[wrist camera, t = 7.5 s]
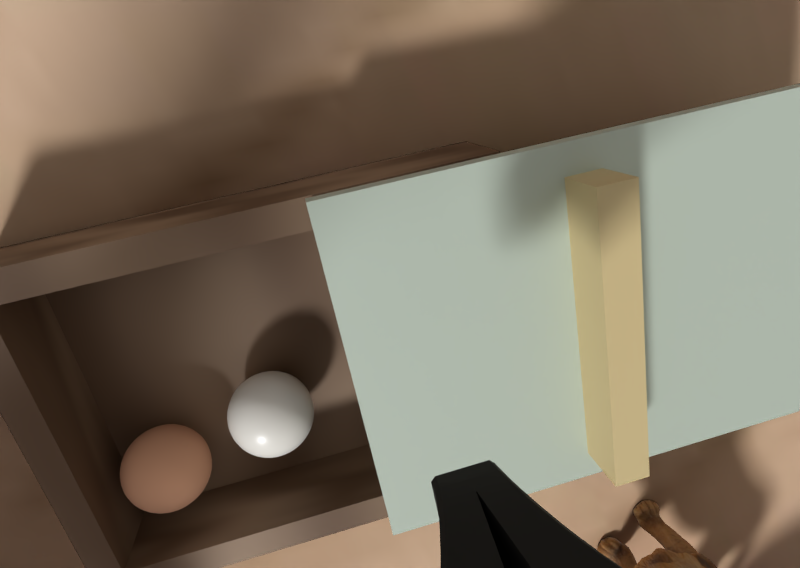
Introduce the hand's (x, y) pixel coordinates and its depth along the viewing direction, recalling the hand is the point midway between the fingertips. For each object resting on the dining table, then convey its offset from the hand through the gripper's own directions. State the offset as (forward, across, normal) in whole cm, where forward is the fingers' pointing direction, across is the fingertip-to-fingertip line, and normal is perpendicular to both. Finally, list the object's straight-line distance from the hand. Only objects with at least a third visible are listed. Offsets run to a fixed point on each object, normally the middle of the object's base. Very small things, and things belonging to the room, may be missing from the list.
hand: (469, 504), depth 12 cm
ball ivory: (+8, +5, +2) cm, 10 cm away
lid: (+6, -6, 0) cm, 9 cm away
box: (+10, +4, 0) cm, 11 cm away
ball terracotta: (+8, +9, +2) cm, 12 cm away
